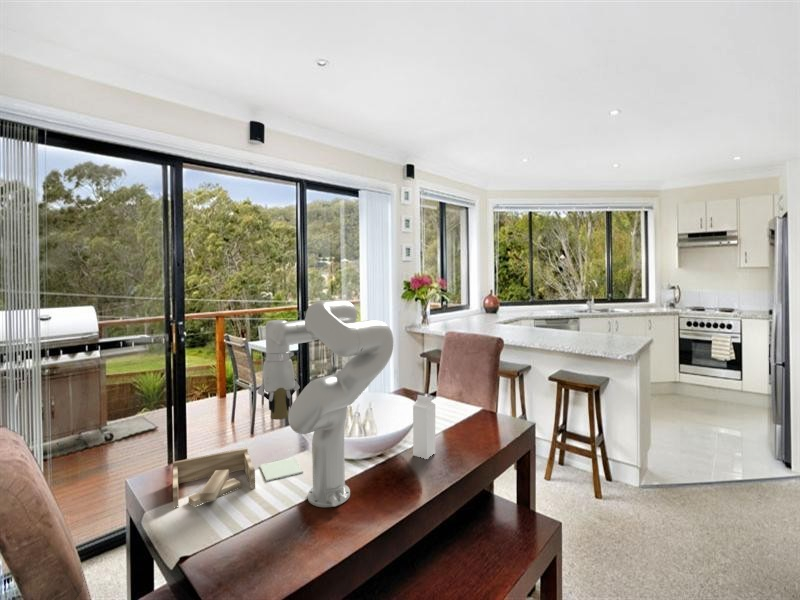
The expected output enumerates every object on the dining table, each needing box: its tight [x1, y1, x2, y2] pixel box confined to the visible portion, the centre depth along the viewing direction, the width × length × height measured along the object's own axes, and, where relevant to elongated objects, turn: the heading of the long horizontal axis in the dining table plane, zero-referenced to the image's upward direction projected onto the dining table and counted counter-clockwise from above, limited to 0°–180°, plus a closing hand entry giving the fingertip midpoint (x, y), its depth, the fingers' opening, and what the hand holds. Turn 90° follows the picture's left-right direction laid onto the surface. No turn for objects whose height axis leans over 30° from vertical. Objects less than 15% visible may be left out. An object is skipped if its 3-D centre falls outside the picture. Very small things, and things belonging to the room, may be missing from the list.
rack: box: [172, 446, 256, 508], centre depth 130 cm, size 16×22×7 cm
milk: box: [412, 394, 436, 460], centre depth 151 cm, size 6×6×22 cm
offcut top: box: [200, 470, 230, 503], centre depth 125 cm, size 4×14×2 cm, turn 7°
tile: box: [259, 456, 304, 482], centre depth 140 cm, size 12×12×1 cm
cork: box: [270, 388, 289, 421], centre depth 139 cm, size 6×6×11 cm
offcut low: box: [188, 477, 241, 508], centre depth 125 cm, size 4×14×2 cm, turn 140°
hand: (279, 409), depth 139 cm, fingers closed on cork, 4 cm apart
